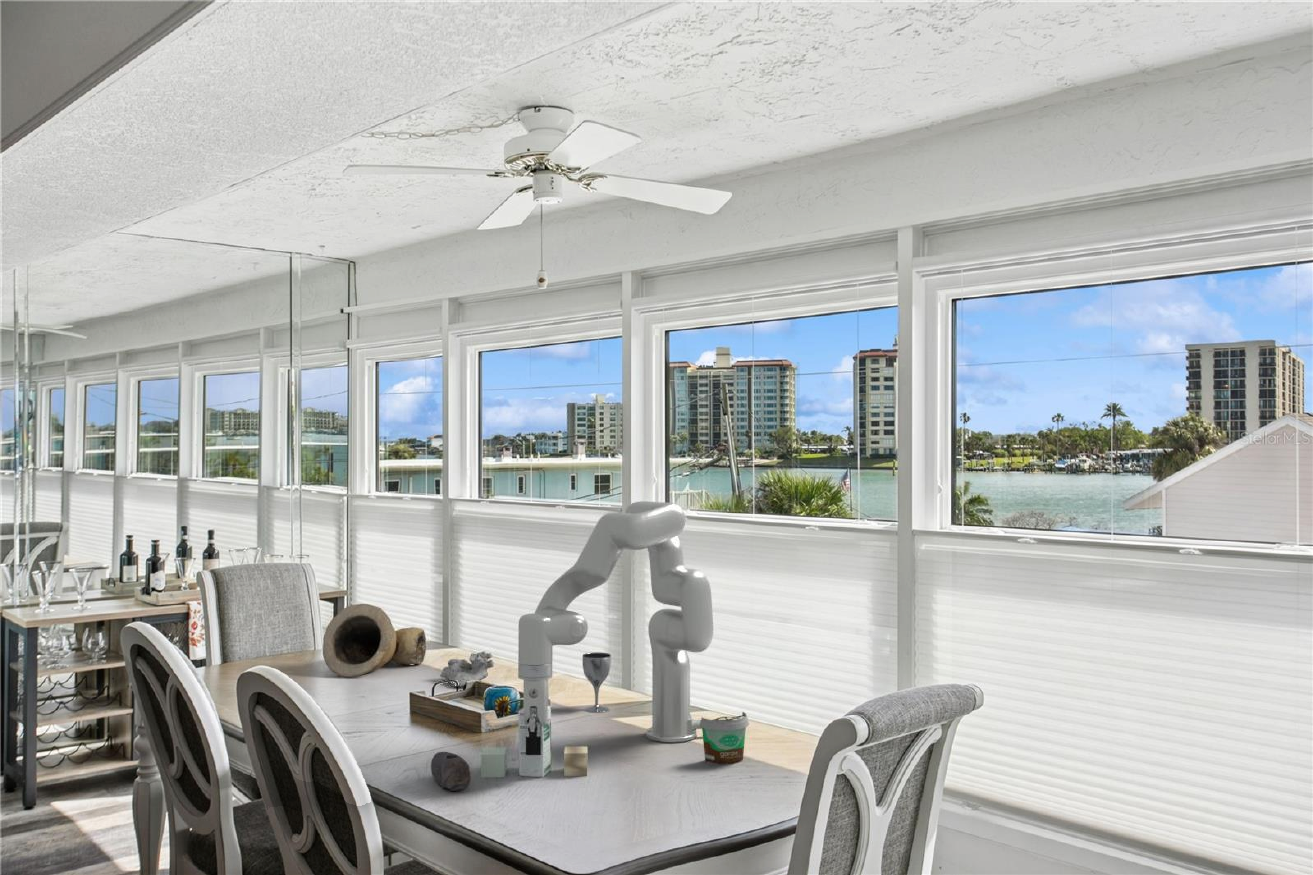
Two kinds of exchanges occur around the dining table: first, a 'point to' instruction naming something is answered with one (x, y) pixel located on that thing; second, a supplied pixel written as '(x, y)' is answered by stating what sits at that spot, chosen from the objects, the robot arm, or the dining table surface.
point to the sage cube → (493, 762)
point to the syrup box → (535, 763)
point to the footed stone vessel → (369, 641)
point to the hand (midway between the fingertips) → (534, 748)
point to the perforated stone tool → (450, 771)
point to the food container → (724, 739)
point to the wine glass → (596, 675)
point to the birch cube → (575, 761)
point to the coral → (468, 668)
